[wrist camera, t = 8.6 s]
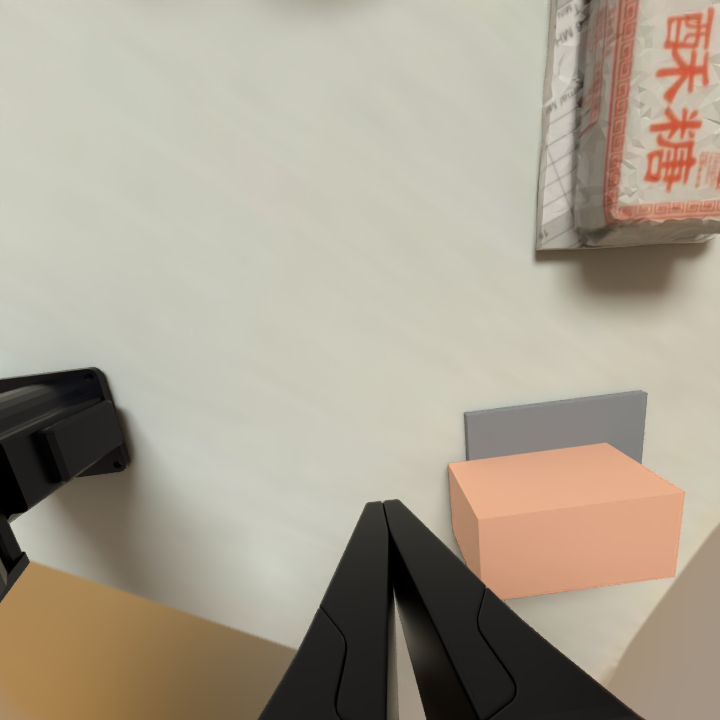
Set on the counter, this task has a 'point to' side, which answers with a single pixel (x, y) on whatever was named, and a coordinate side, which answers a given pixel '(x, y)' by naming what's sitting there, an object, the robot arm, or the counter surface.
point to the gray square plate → (559, 426)
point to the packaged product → (630, 124)
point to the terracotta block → (564, 520)
